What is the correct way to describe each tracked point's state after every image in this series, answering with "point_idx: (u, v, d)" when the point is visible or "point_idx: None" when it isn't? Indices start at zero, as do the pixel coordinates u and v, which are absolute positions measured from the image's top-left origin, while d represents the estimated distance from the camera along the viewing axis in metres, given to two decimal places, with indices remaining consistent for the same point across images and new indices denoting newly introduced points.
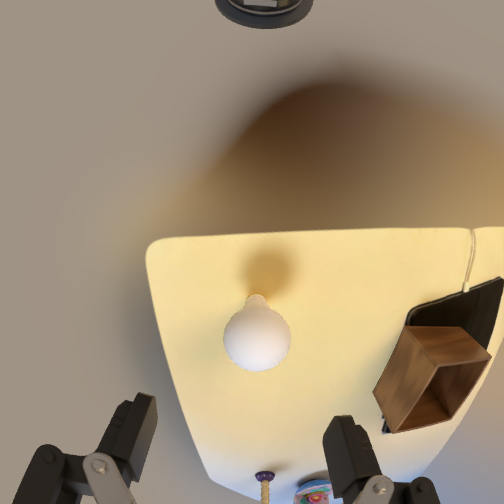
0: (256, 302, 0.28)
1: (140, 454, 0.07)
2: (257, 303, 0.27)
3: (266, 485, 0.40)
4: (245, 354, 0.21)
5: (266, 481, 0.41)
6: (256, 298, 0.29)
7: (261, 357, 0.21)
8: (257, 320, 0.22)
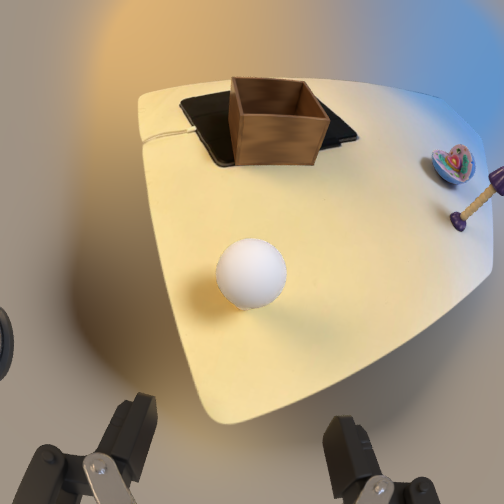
0: None
1: (140, 454, 0.07)
2: None
3: (465, 212, 0.39)
4: (254, 270, 0.21)
5: (461, 215, 0.40)
6: None
7: (252, 254, 0.21)
8: (220, 274, 0.22)
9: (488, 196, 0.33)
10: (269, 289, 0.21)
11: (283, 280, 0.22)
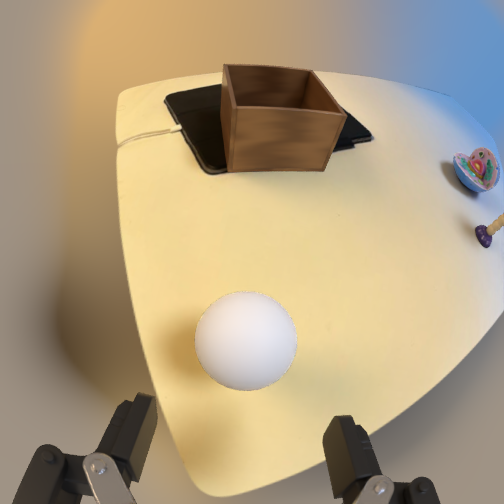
0: None
1: (140, 454, 0.07)
2: None
3: (492, 226, 0.31)
4: (249, 351, 0.13)
5: (488, 229, 0.32)
6: None
7: (245, 326, 0.13)
8: (200, 350, 0.14)
9: None
10: (272, 373, 0.13)
11: (293, 355, 0.14)
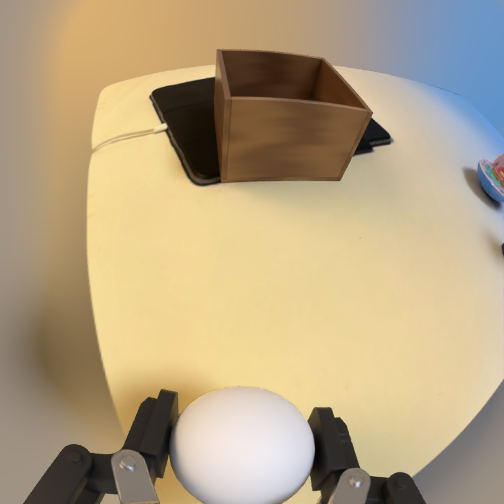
0: None
1: (165, 449, 0.08)
2: None
3: None
4: (246, 493, 0.06)
5: None
6: None
7: (240, 464, 0.07)
8: (175, 472, 0.07)
9: None
10: (279, 503, 0.07)
11: (308, 475, 0.08)
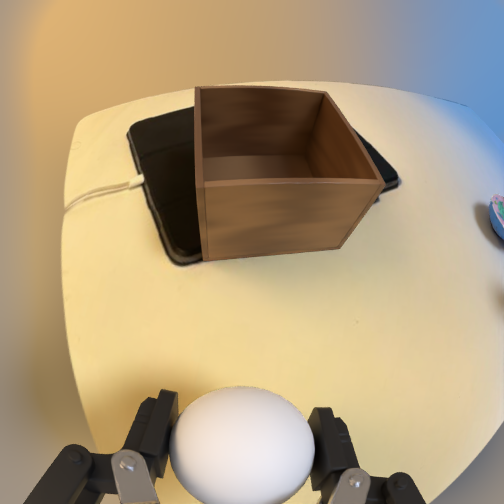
0: None
1: (165, 449, 0.08)
2: None
3: None
4: (246, 494, 0.06)
5: None
6: None
7: (240, 464, 0.07)
8: (175, 472, 0.07)
9: None
10: (279, 503, 0.07)
11: (308, 476, 0.08)
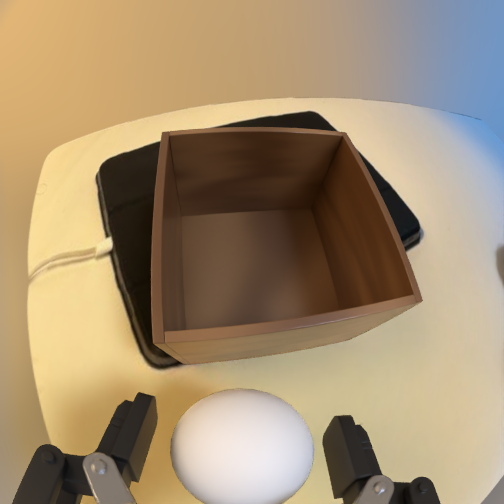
0: None
1: (140, 454, 0.07)
2: None
3: None
4: (246, 494, 0.06)
5: None
6: None
7: (240, 466, 0.07)
8: (177, 473, 0.07)
9: None
10: None
11: None
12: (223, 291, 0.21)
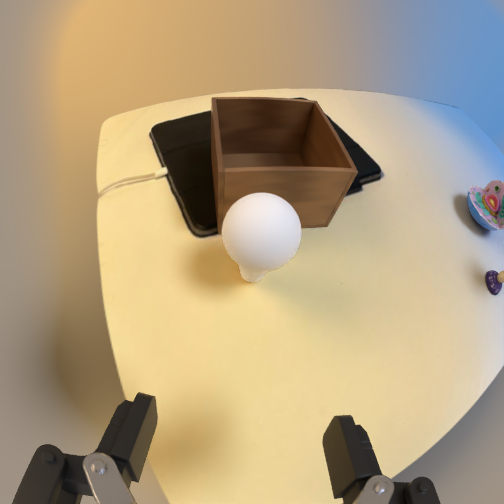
0: None
1: (140, 454, 0.07)
2: None
3: (503, 274, 0.28)
4: (266, 222, 0.18)
5: (498, 277, 0.29)
6: (240, 268, 0.26)
7: (263, 205, 0.18)
8: (227, 230, 0.19)
9: None
10: (283, 245, 0.19)
11: (298, 237, 0.20)
12: None
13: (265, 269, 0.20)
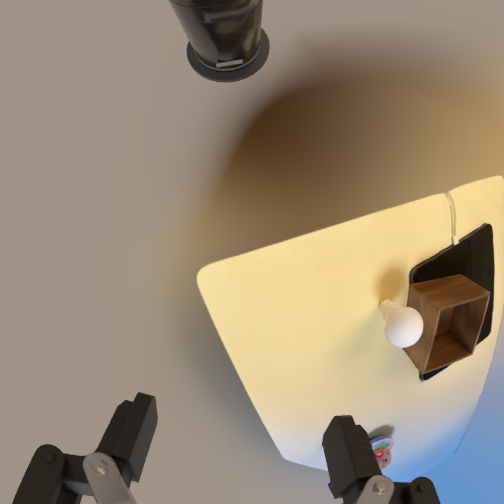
0: (392, 305, 0.38)
1: (140, 454, 0.07)
2: (394, 306, 0.37)
3: None
4: (407, 337, 0.31)
5: None
6: (388, 302, 0.40)
7: (415, 335, 0.31)
8: (408, 316, 0.32)
9: None
10: (395, 341, 0.33)
11: (397, 346, 0.34)
12: None
13: (386, 329, 0.34)
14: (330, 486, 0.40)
